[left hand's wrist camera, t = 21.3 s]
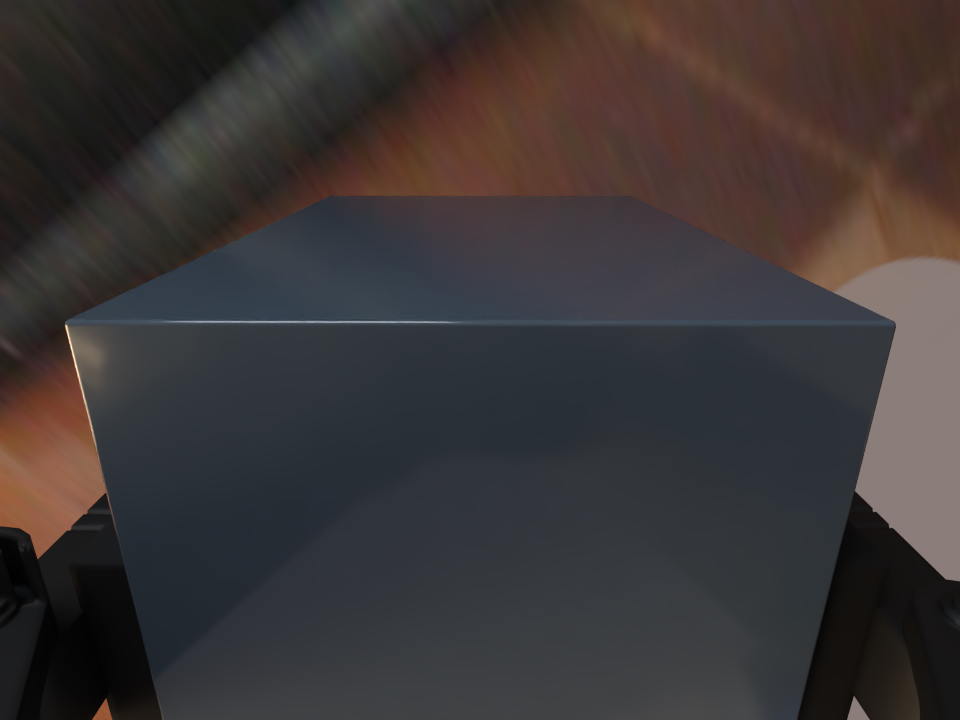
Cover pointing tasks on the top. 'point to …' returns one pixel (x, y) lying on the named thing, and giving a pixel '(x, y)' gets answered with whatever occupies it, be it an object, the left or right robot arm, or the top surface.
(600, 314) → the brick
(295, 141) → the top surface
